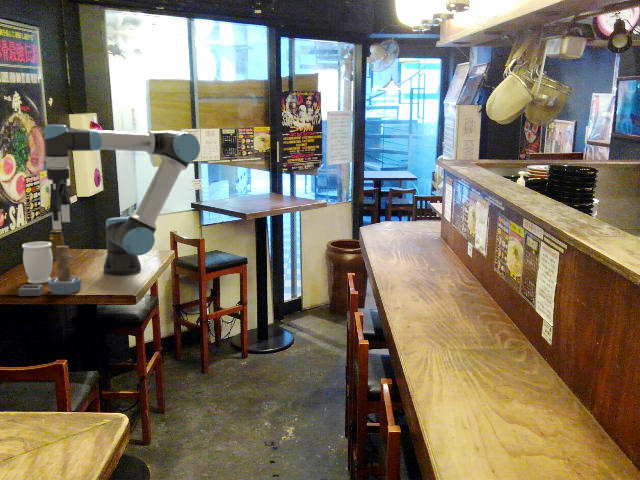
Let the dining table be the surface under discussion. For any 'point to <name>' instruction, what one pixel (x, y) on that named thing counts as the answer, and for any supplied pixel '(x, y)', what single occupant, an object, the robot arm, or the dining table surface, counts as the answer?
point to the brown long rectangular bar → (63, 263)
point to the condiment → (56, 241)
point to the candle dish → (64, 286)
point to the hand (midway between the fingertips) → (61, 225)
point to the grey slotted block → (31, 290)
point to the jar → (37, 261)
